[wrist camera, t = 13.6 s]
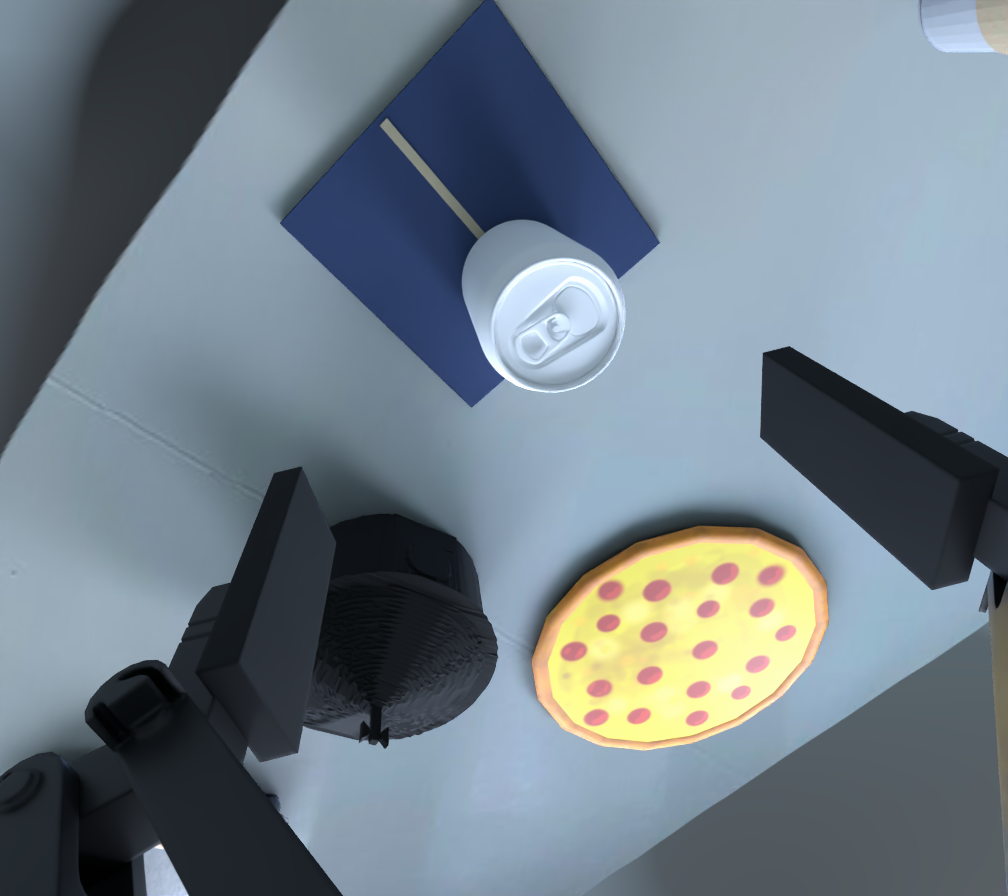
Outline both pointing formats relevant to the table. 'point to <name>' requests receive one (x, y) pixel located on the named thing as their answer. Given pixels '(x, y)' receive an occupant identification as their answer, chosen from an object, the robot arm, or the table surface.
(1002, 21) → the coffee cup
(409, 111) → the napkin
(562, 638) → the pizza
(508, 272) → the beverage can
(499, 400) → the table surface
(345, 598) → the black round tub
